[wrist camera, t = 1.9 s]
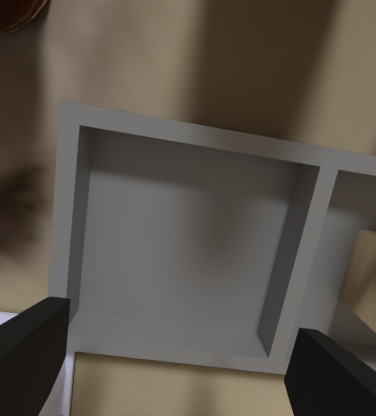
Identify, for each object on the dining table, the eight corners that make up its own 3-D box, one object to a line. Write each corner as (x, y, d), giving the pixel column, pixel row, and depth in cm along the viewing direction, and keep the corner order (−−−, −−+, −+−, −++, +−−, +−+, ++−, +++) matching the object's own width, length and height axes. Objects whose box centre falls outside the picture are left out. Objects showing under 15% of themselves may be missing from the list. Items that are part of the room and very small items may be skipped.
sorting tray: (433, 361, 21) (474, 395, 18) (64, 316, 19) (44, 347, 16) (508, 183, 18) (572, 191, 15) (81, 108, 16) (60, 100, 13)
